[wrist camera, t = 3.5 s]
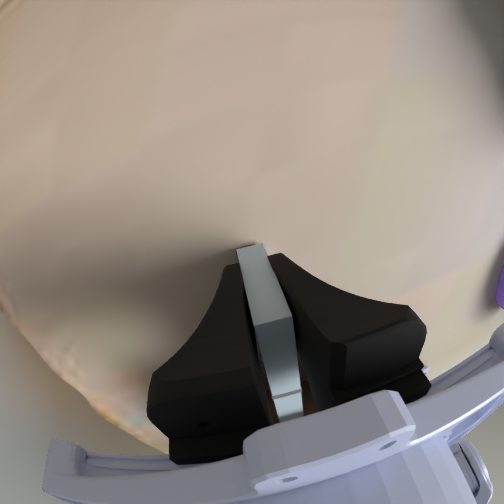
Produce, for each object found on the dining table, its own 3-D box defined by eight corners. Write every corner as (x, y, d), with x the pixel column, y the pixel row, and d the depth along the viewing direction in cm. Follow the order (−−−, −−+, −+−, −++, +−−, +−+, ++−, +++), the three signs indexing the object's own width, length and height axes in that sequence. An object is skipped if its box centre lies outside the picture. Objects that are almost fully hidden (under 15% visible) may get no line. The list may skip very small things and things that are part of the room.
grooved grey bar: (286, 372, 18) (306, 434, 13) (267, 377, 17) (284, 440, 13) (263, 242, 13) (293, 315, 8) (235, 249, 13) (252, 326, 8)
